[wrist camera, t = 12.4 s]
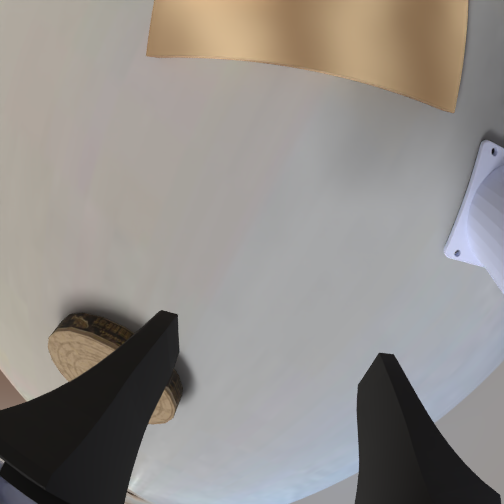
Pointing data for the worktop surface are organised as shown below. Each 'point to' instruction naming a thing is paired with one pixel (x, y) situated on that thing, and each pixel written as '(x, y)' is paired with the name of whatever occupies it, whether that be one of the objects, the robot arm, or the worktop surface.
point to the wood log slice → (101, 355)
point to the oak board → (327, 39)
